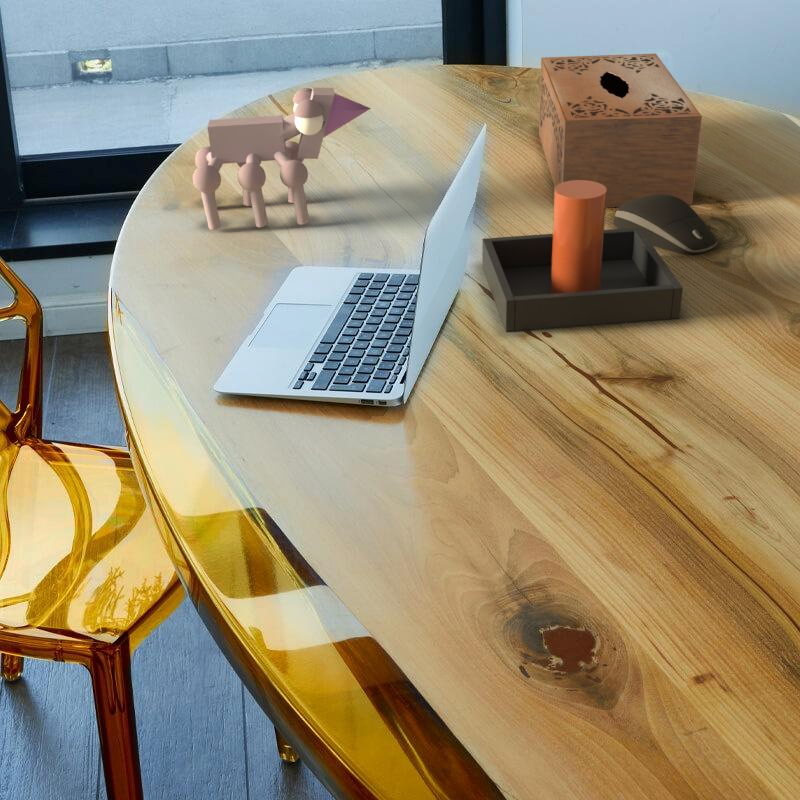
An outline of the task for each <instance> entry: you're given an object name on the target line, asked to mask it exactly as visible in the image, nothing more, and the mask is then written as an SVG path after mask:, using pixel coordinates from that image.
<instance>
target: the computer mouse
mask: <svg viewBox="0 0 800 800" xmlns="http://www.w3.org/2000/svg"><path fill="white" fill-rule="evenodd" d="M613 225H614V226H615V227H616V229H626V228H632V229H633V228H641V230H642V231H643V233H644V234H645V235H646V237H647V238H648V240H649V241H650V242H651V244H652V245H653V247H656V248H659V249H661V250H666V251H668V252H672V253H675V254H679V255H684V256H698V255H703V254H706V253H709V252H712V251H714V250H715V249H717V247H718V240H717V238H716V236H715V235H714V233H713V232H712V231H711V229H710V228H709V227H708V225H707V224H706V223H705V222H704V220H703V219H702V218H701V217H700V216H699V215H698V213H697V212H696V211H695V210H694V208H693V207H691V205H688V204H687V203H686V202H684V201H683V200H681V199H679V198H677V197H675V196H671V195H665V194H656V195H649V196H644V197H641V198H637V199H635V200H632V201H629V202H627V203H625V204H623V205H621V206H620V207H617V209H616V212H615V214H614V217H613Z"/></svg>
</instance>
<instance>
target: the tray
mask: <svg viewBox="0 0 800 800" xmlns="http://www.w3.org/2000/svg"><path fill="white" fill-rule="evenodd" d="M552 239H553V233H544V234H541V233H540V234H527V235H515V236H501V237H500V236H499V237H491V238H490V237H486V238H482V253H481V255H482V257H481V258H482V265H481V266H482V271H483V274H484V276H485V279H486V282H487V285H488V287H489V290H490V293H491V296H492V298H493V302H494V305H495V307H496V309H497V312H498V316H499V317H500V321H501V323H502V326H503V330H504V332H505V333H516V332H530V331H531V332H532V331H543V330H544V331H545V330H558V329H571V328H584V327H585V328H586V327H597V326H609V325H611V326H612V325H622V324H635V323H636V324H637V323H648V322H662V321H674V320H675V321H676V320H680V316H681V307H682V299H683V291H684V290H683V289H684V287H683V286H682V285H681V283H680V282H679V281H678V279H677V278H676V276H675V274H673V272H672V270H670V268H669V266H668V265H667V263H666V262H665V261H664V259H663V258H662V257H661V255H660V254H659V252H658V250H656V248H655V246H653V245H652V244H651V242H650V241H649V240H648V238H647V237H646V235H645V234H644V233H643V231H642V230H641V228H633V229H632V228H626V229H618V228H614V229H604V240H603V255H602V270H601V285H600V290H597V291H583V292H570V293H556V294H552V293H551V264H552Z"/></svg>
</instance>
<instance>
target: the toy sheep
mask: <svg viewBox="0 0 800 800" xmlns="http://www.w3.org/2000/svg"><path fill="white" fill-rule="evenodd" d="M292 103H293V113H290V114H289V115H287V116H285V117H284V115H283V114H282V115H265V116H249V117H233V118H218V119H217V118H216V119H209V120H208V124H207V134H208V141H209V146H203V147H201V148H199V150H197V152H196V154H195V156H194V163H195V166H196V167H197V168H196V169H195V170H194V171H193V174H192V183H193V186H194V187H195V189H196V190H197V191H199V192H200V196H201V199H202V205H203V209H204V213H205V218H206V221H207V226H208V229H209V230H211V231H215V230H217V229H220V228H221V227H222V223H221V219H220V214H219V211H218V206H217V201H216V191H217V190H218V189H219V188H220V186H221V183H222V177H221V176H222V175H221V173H220V171H221V169H222V167H223V165H224V164H226V165H227V164H236V165H237V166H238V167H239V169H238V171H237V182H238V184H239V185H240V187H241V188H242V204H243V206H246V207H252V212H253V217H254V223H255V227H256V228H265V227H266V226H268V224H269V220H268V215H267V209H266V205H265V199H264V194H263V187H264V185H265V183H266V179H267V176H266V172H265V170H264V168H263V166H261V164H262V162H269V161H271V162H272V161H275V162H276V163H277V165H278V166H279V167H280V170H279V179H280V181H281V183H282V184H283V185H284V186H285V187H287V199H288V200H287V201H288V203H291V204H293V207H294V213H295V218H296V223H297V225H306V224H308V223H309V222H310V217H309V211H308V210H309V209H308V205H307V200H306V192H305V187H304V184H306V182H307V180H308V177H309V172H308V168H307V167H306V165H305V164H304V163H303V162H304V160H310V159H311V160H318V159H319V155H320V152H321V147H322V144H323V141H324V138H326V137H327V136H329V135H330V134H332V133H334V132H335V131H337V130H338V129H339V130H340V128H342V127H343V126H345V125H347V124H348V123H350V122H352V121H353V120H355V119H356V118H358V117H360V116H361V115H363V114H365V113H366V112H368V111H370V110H371V109H372V108H371V107H369V106H367V105H364V104H362V103H360V102H357V101H355V100H352V99H349V98H348V97H345V96H342V95H340V94H338V93H335V88H334V87H312V88H310V87H304V88H300V89H299V90H297V91H296V92H295V93H294V95H293V97H292ZM299 135H300V137H299V140H298V142H297V141H293V140H292V139H293V138H295V137H297V136H299Z"/></svg>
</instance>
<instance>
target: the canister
mask: <svg viewBox="0 0 800 800" xmlns="http://www.w3.org/2000/svg"><path fill="white" fill-rule="evenodd" d="M606 196H607V189H606V187H605V186H604V185H602V184H600V183H597V182H594V181H588V180H572V181H566V182H562V183H560V184H558V185H557V186H556V187H555V186H554V194H553V214H552V217H553V218H552V234H553V239H552V264H551V293H552V294H556V293H570V292H583V291H597V290H600V285H601V270H602V255H603V240H604V230H605V224H606V209H607V208H606Z"/></svg>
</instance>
